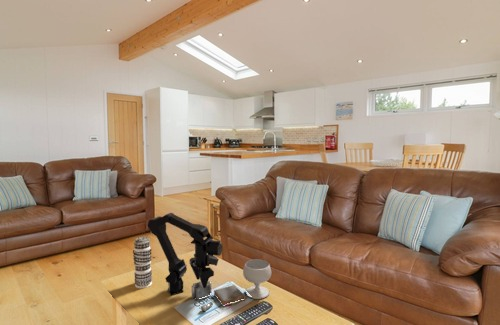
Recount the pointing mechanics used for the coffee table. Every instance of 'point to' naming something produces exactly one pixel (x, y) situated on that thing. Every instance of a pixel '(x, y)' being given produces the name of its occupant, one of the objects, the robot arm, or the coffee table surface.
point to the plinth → (229, 294)
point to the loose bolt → (206, 306)
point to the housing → (200, 290)
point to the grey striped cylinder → (142, 262)
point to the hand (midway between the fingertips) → (201, 283)
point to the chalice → (257, 277)
